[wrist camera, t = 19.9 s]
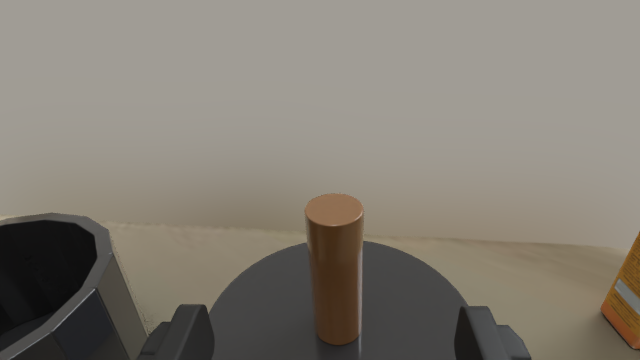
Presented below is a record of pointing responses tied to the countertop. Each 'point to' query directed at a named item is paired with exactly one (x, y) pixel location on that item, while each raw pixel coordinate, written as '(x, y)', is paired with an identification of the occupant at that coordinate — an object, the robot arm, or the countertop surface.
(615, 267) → the countertop surface
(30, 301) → the pot
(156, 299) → the countertop surface
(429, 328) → the lid
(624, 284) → the supplement box
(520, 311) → the countertop surface
